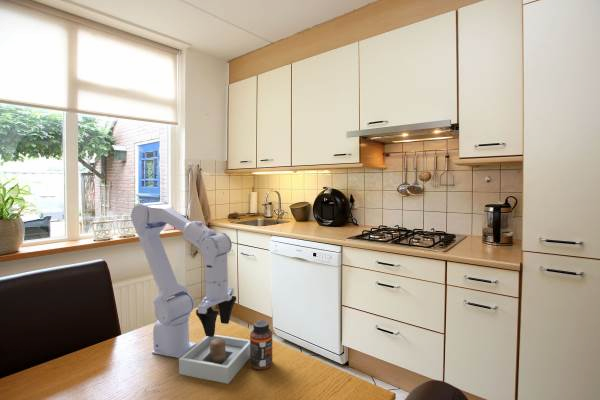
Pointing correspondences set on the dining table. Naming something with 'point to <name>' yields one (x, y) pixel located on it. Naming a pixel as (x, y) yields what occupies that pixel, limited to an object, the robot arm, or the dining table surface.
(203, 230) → the robot arm
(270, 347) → the supplement bottle
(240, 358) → the bore box
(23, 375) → the dining table surface
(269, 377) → the dining table surface
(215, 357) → the peg
